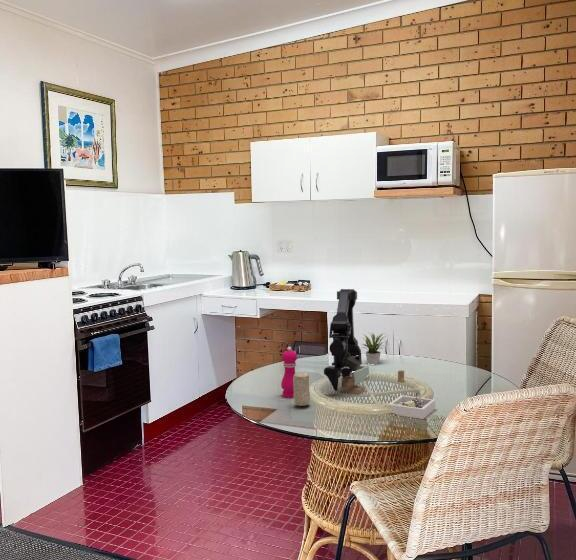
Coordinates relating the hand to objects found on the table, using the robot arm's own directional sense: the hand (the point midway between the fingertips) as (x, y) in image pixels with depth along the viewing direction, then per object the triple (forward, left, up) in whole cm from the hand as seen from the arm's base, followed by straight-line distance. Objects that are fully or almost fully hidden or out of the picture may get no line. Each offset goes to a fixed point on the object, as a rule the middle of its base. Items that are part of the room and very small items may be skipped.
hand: (341, 387), depth 252 cm
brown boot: (+5, +1, -2) cm, 5 cm away
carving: (-5, -24, -2) cm, 24 cm away
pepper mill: (-15, -15, -2) cm, 21 cm away
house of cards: (+37, -8, -2) cm, 38 cm away
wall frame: (+2, +22, -1) cm, 22 cm away
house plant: (-6, +49, -2) cm, 49 cm away
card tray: (+35, -12, -1) cm, 37 cm away
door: (+2, +22, -1) cm, 22 cm away
